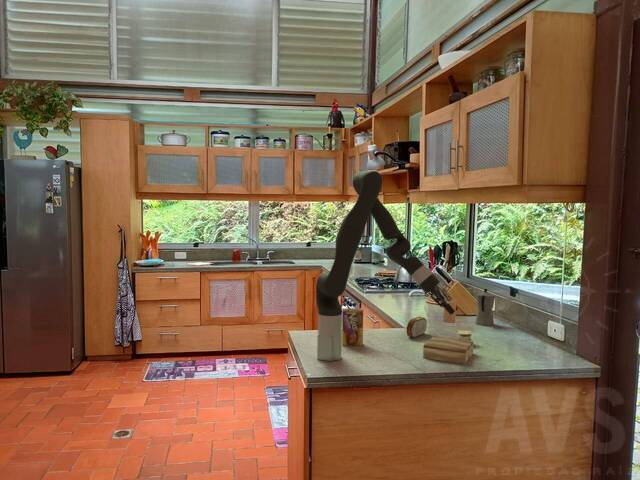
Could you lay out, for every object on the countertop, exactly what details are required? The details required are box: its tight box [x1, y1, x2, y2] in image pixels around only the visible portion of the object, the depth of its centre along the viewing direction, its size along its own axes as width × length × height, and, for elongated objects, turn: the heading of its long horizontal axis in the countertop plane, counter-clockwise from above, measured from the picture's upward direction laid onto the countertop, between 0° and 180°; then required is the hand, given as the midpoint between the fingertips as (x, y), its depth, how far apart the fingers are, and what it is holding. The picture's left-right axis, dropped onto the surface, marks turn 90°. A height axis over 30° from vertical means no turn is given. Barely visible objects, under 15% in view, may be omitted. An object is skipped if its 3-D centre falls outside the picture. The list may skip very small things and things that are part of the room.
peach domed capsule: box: [442, 300, 457, 324], centre depth 203 cm, size 5×5×8 cm
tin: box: [406, 316, 428, 339], centre depth 234 cm, size 15×3×8 cm, turn 141°
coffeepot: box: [474, 288, 496, 327], centre depth 259 cm, size 15×9×18 cm, turn 153°
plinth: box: [422, 335, 474, 365], centre depth 204 cm, size 16×16×5 cm
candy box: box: [342, 307, 364, 346], centre depth 218 cm, size 9×4×15 cm, turn 90°
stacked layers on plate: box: [456, 330, 472, 341], centre depth 222 cm, size 10×9×6 cm
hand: (454, 311), depth 202 cm, fingers closed on peach domed capsule, 4 cm apart
